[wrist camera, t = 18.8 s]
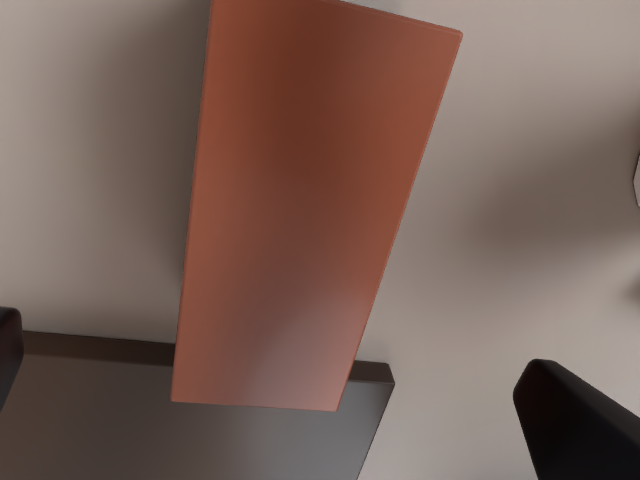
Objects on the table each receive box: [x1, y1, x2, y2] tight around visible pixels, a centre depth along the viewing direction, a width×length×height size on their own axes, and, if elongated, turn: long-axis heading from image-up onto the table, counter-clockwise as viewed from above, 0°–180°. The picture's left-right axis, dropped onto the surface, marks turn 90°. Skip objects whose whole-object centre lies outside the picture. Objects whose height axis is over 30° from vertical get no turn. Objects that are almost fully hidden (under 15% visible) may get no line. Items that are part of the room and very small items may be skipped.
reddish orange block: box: [170, 0, 463, 412], centre depth 13 cm, size 5×11×5 cm, turn 168°
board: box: [0, 331, 395, 480], centre depth 20 cm, size 20×11×1 cm, turn 78°
